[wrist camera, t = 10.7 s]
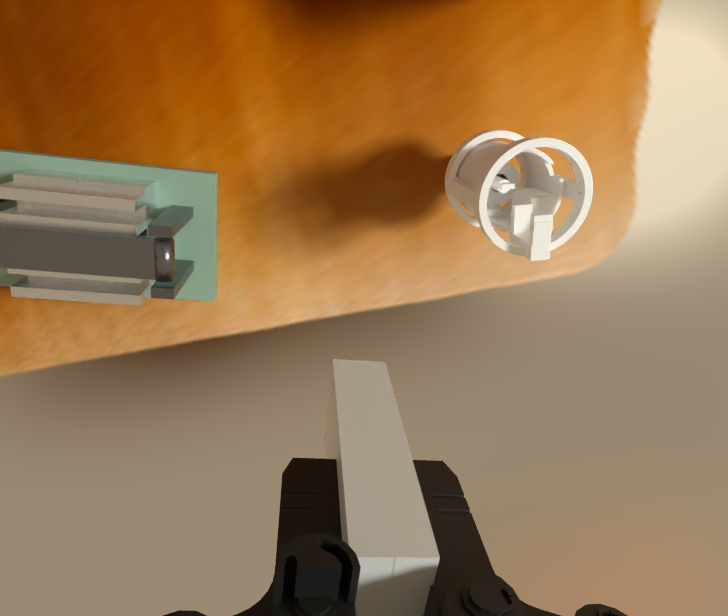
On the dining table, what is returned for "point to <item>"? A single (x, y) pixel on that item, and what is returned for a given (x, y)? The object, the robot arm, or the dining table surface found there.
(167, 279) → the grey bar
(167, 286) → the grey blocky device
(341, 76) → the dining table surface
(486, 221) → the white plastic part
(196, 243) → the mainboard
